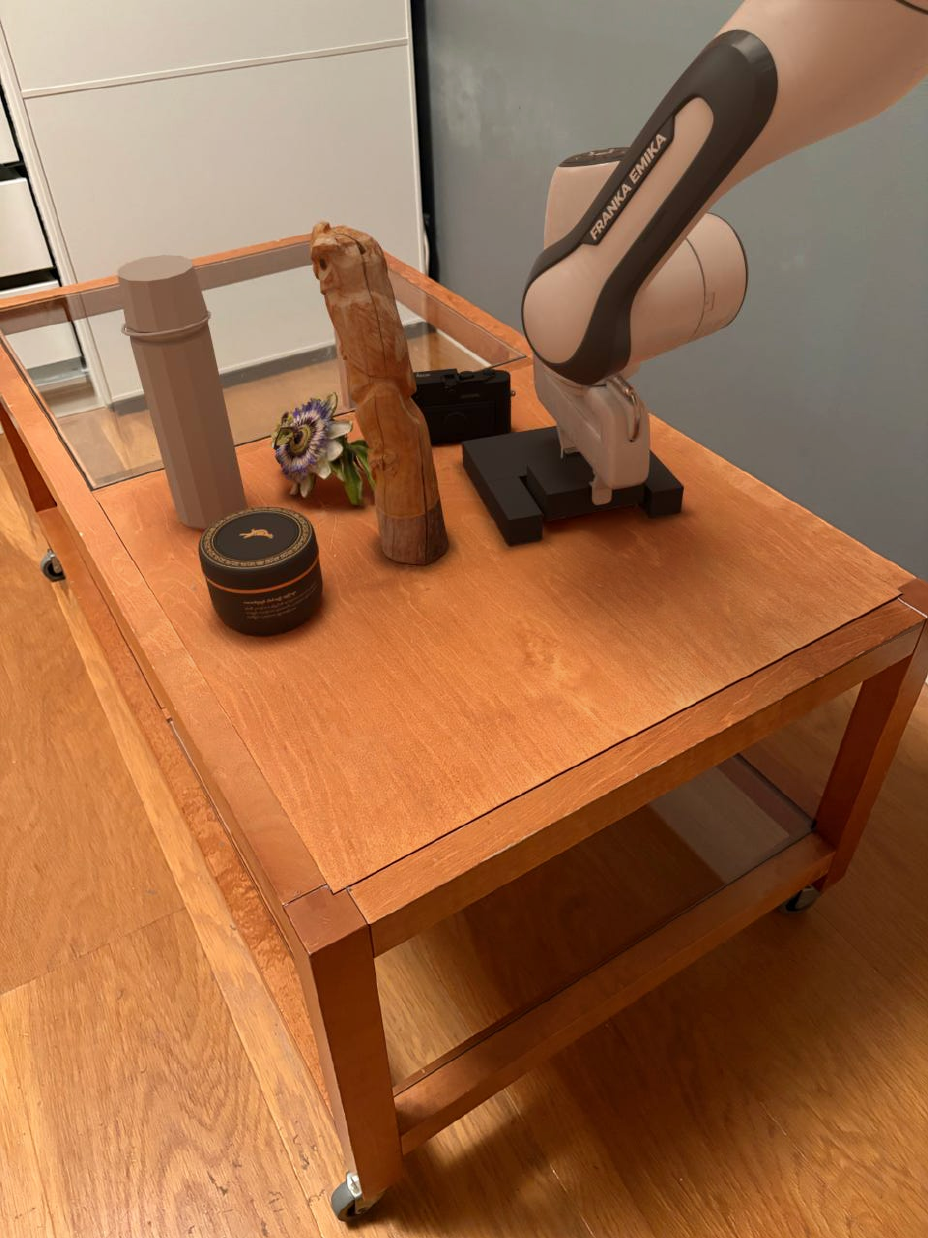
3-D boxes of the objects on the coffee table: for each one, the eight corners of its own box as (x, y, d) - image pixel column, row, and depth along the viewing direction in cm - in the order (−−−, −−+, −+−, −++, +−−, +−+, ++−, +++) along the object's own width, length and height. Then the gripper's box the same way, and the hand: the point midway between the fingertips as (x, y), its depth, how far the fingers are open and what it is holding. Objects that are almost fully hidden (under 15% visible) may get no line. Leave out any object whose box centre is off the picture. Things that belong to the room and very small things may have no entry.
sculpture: (347, 537, 93) (303, 218, 74) (440, 522, 94) (420, 206, 75) (356, 576, 88) (310, 244, 69) (454, 560, 89) (437, 231, 70)
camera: (507, 410, 112) (507, 346, 107) (519, 439, 106) (518, 373, 101) (387, 422, 111) (381, 357, 106) (392, 452, 105) (386, 385, 100)
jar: (208, 586, 87) (190, 516, 82) (315, 564, 89) (304, 494, 85) (221, 653, 80) (202, 581, 75) (337, 627, 82) (326, 555, 77)
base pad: (617, 438, 106) (618, 414, 104) (681, 512, 94) (684, 486, 92) (462, 466, 102) (461, 441, 101) (508, 546, 90) (508, 520, 89)
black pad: (618, 473, 97) (620, 447, 95) (643, 502, 93) (645, 476, 91) (526, 490, 95) (526, 464, 93) (546, 521, 91) (547, 494, 89)
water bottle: (263, 518, 96) (213, 269, 80) (188, 544, 93) (121, 290, 77) (230, 480, 102) (177, 242, 86) (159, 503, 99) (91, 260, 83)
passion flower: (306, 536, 103) (241, 441, 100) (381, 483, 107) (320, 390, 104) (342, 525, 93) (271, 419, 90) (423, 466, 97) (357, 363, 94)
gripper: (676, 389, 77) (660, 531, 86) (583, 302, 92) (577, 430, 101) (603, 402, 76) (595, 544, 84) (521, 311, 91) (521, 439, 100)
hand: (584, 481), depth 93 cm, fingers closed on black pad, 6 cm apart
